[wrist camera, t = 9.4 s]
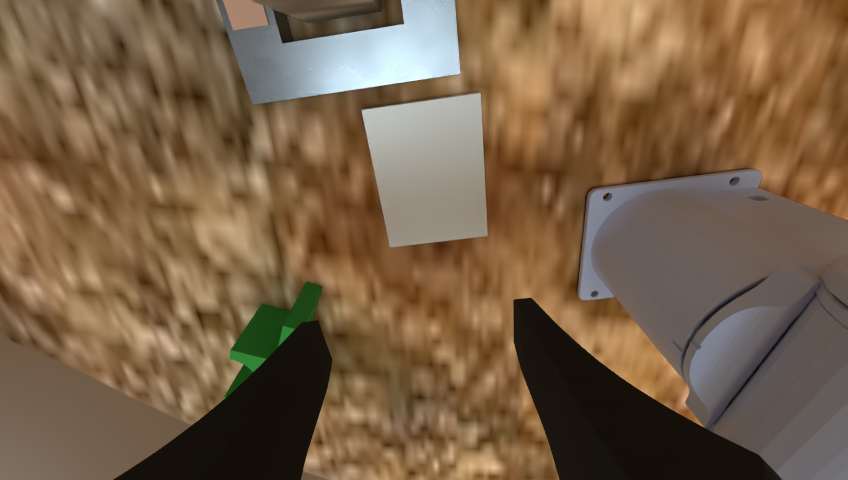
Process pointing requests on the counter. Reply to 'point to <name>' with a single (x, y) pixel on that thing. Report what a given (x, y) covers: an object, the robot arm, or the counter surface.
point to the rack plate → (339, 51)
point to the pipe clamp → (271, 332)
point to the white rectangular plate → (429, 168)
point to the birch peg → (322, 8)
